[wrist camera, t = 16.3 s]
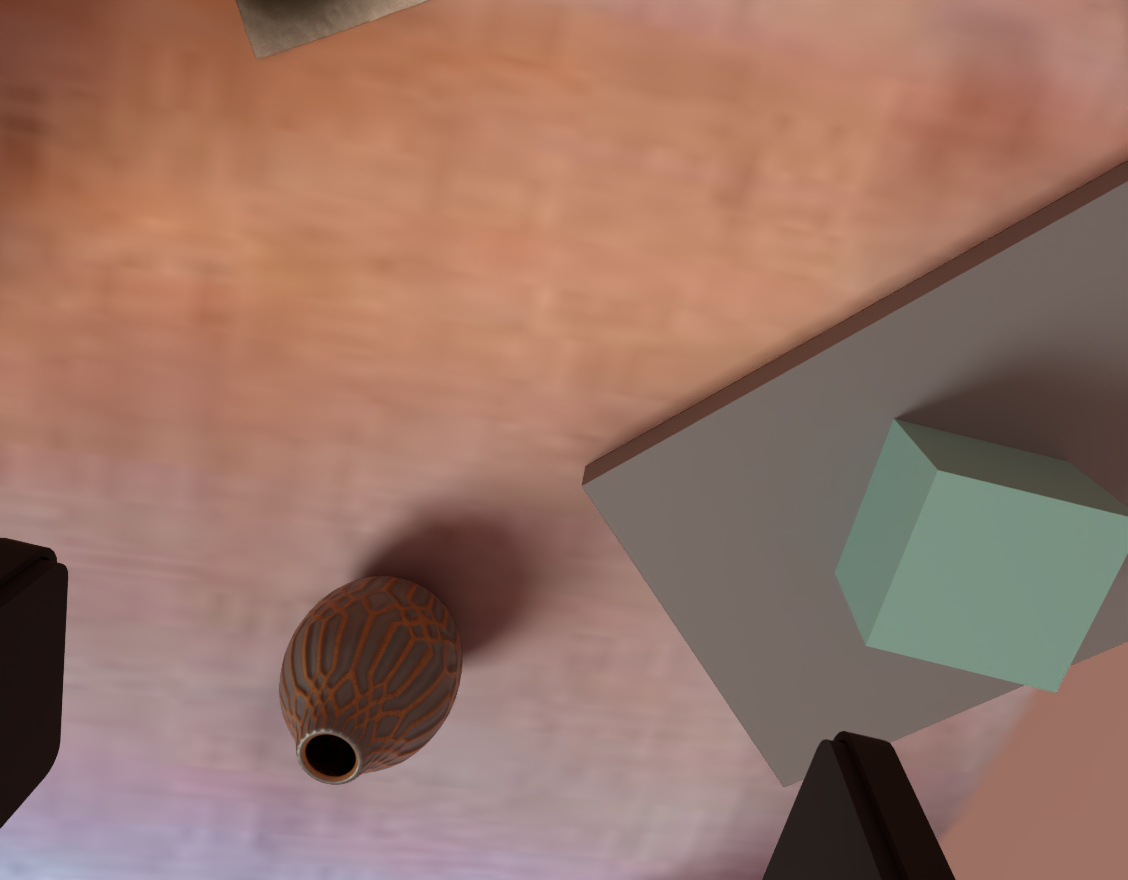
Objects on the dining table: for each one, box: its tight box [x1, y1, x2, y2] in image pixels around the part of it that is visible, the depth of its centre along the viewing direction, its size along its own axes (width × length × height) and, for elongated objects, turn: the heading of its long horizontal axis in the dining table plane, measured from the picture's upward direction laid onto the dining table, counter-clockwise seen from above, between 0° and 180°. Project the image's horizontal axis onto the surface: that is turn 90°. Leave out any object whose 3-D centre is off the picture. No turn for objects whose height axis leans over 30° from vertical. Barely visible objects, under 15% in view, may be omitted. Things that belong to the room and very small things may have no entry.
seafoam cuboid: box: [835, 419, 1128, 693], centre depth 30 cm, size 6×6×5 cm
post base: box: [582, 161, 1128, 787], centre depth 31 cm, size 22×16×6 cm
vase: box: [279, 576, 462, 785], centre depth 34 cm, size 7×7×9 cm
